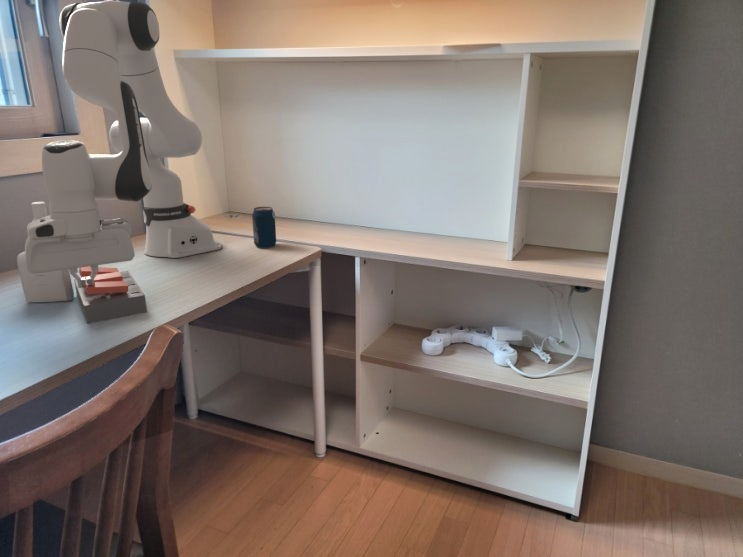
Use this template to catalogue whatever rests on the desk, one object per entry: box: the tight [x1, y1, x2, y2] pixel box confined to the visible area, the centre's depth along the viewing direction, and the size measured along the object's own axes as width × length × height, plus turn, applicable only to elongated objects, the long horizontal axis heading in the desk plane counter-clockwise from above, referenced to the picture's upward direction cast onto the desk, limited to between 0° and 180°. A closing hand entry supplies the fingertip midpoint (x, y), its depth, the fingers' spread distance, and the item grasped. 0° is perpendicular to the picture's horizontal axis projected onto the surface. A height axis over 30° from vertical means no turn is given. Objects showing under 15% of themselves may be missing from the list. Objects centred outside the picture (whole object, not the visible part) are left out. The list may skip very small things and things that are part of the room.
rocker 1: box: [78, 266, 120, 278], centre depth 128 cm, size 8×4×1 cm, turn 123°
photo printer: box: [16, 251, 75, 303], centre depth 125 cm, size 10×4×12 cm, turn 95°
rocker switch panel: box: [73, 270, 148, 324], centre depth 125 cm, size 12×20×5 cm, turn 33°
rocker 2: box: [80, 271, 123, 288], centre depth 123 cm, size 8×4×1 cm, turn 123°
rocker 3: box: [85, 281, 128, 294], centre depth 119 cm, size 8×4×1 cm, turn 123°
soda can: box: [251, 206, 277, 249], centre depth 170 cm, size 7×7×12 cm
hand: (86, 286), depth 116 cm, fingers closed
